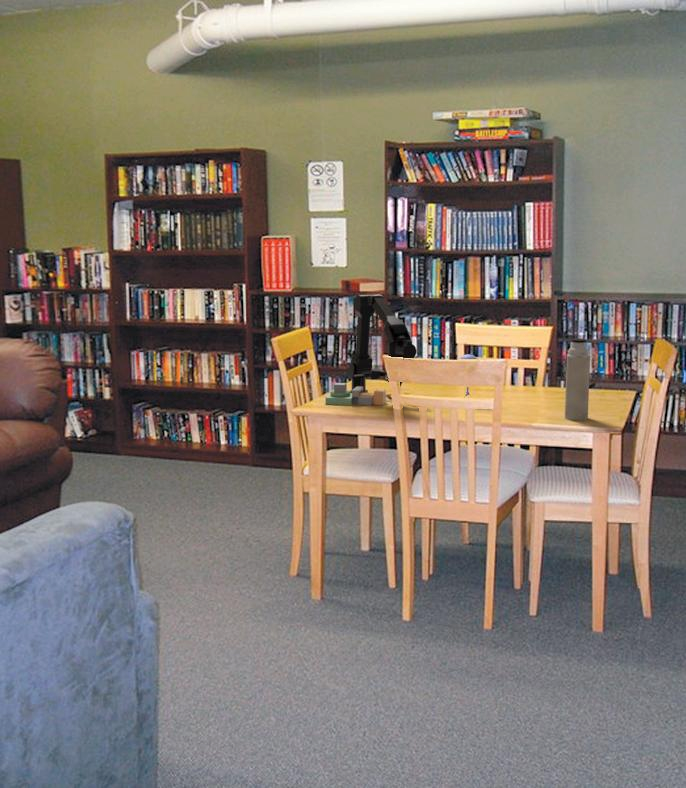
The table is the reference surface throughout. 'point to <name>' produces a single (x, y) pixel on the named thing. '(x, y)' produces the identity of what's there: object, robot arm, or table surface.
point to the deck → (347, 396)
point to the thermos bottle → (577, 381)
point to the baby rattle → (468, 356)
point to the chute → (376, 396)
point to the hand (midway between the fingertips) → (395, 397)
